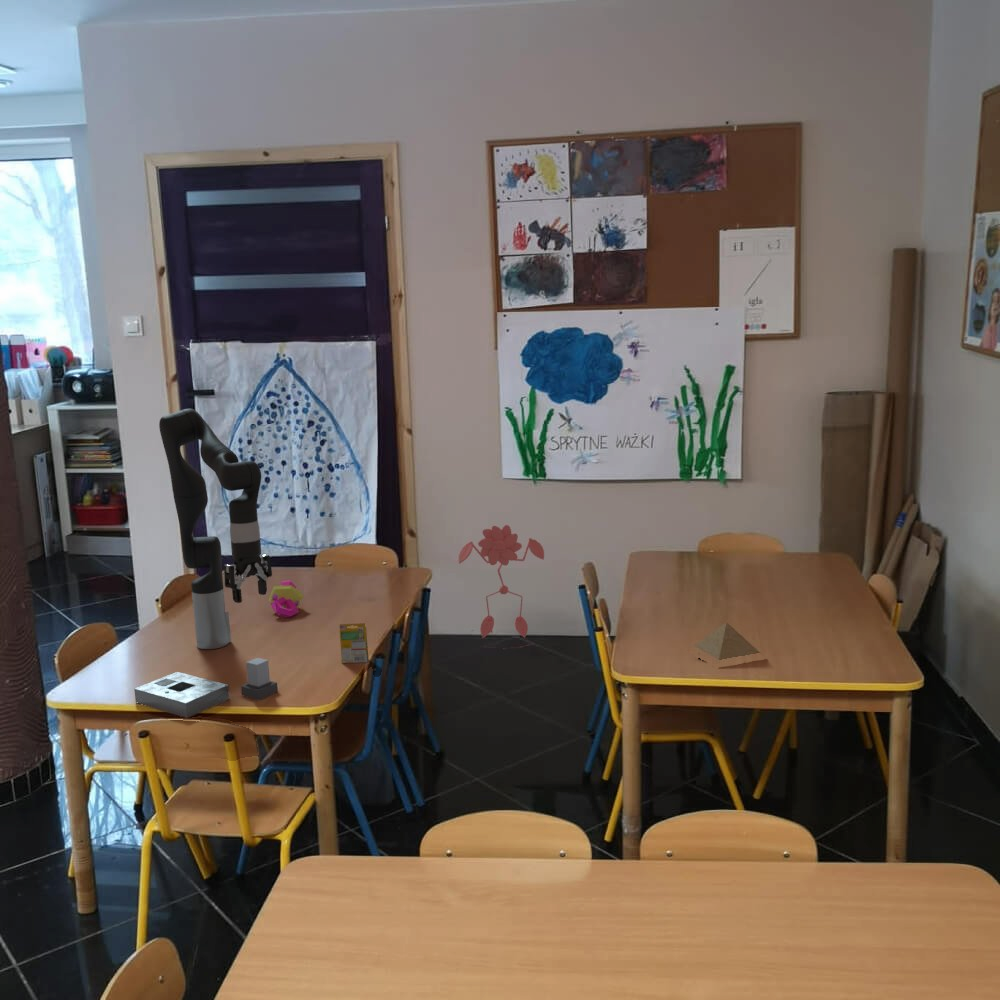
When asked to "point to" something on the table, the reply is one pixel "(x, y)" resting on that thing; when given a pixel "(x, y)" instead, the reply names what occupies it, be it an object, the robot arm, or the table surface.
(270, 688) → the dark grey square frame
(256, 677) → the plug
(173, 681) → the port panel
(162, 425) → the robot arm
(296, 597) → the toy
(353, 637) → the crayon box
